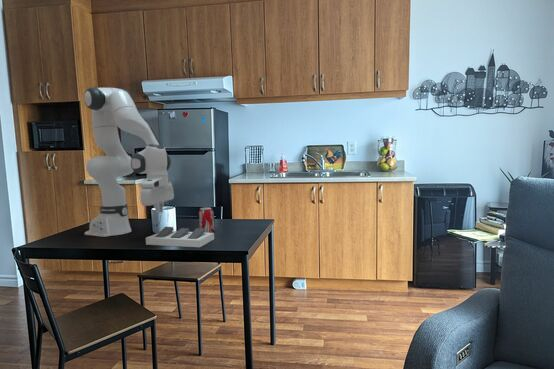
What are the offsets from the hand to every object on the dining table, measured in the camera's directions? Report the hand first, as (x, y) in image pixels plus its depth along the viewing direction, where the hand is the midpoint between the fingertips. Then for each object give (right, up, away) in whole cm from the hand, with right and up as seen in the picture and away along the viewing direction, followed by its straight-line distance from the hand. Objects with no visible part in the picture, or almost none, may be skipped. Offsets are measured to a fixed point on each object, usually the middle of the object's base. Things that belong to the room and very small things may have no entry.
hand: (159, 212), depth 166 cm
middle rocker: (+9, -10, +2) cm, 14 cm away
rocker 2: (+17, -10, -1) cm, 20 cm away
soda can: (+17, -11, +20) cm, 29 cm away
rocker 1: (+1, -10, +4) cm, 11 cm away
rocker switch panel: (+9, -13, +2) cm, 16 cm away
